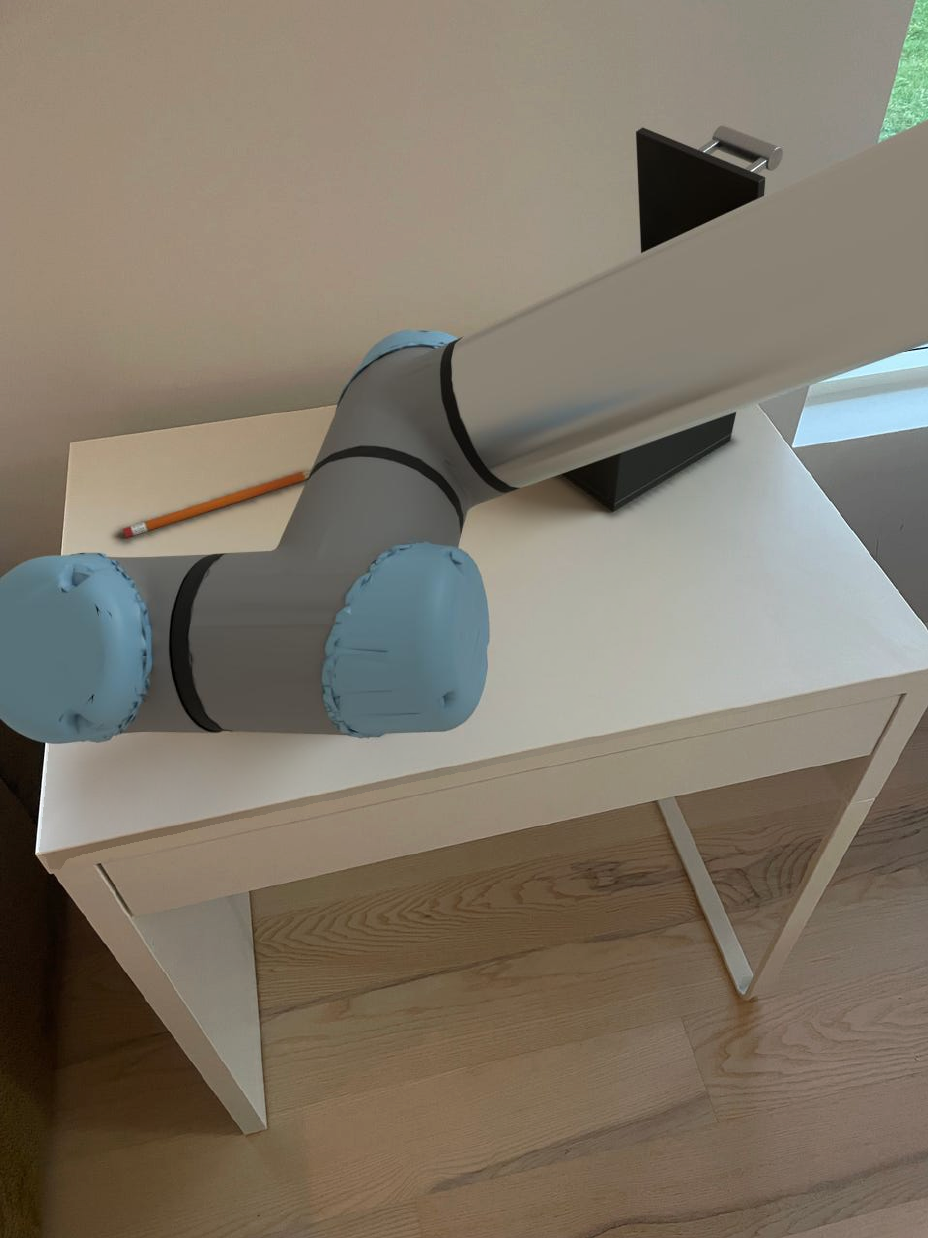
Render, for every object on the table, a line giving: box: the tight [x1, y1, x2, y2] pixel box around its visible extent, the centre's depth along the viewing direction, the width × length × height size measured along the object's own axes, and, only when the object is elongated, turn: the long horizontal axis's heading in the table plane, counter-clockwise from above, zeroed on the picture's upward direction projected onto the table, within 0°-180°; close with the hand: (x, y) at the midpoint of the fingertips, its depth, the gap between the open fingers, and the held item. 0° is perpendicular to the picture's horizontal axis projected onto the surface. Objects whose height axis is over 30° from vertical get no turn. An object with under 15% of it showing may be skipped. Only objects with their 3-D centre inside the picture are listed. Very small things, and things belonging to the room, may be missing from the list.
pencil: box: [122, 470, 311, 539], centre depth 89 cm, size 1×19×1 cm, turn 117°
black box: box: [560, 412, 737, 513], centre depth 90 cm, size 16×13×9 cm
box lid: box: [635, 124, 784, 254], centre depth 84 cm, size 17×13×7 cm
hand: (389, 624), depth 74 cm, fingers closed on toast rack, 4 cm apart
